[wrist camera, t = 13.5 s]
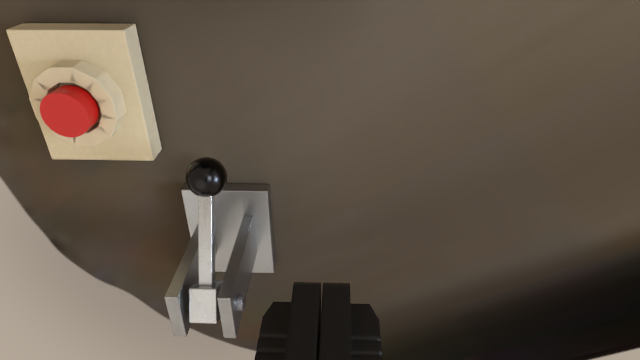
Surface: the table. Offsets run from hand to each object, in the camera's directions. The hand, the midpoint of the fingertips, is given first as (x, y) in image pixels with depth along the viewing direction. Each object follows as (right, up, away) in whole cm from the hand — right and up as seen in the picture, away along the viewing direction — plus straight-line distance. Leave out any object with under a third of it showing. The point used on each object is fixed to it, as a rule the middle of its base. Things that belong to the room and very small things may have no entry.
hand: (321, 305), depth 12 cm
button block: (-19, +11, +26) cm, 34 cm away
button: (-19, +9, +23) cm, 31 cm away
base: (-9, -1, +33) cm, 34 cm away
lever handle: (-9, -1, +26) cm, 27 cm away
